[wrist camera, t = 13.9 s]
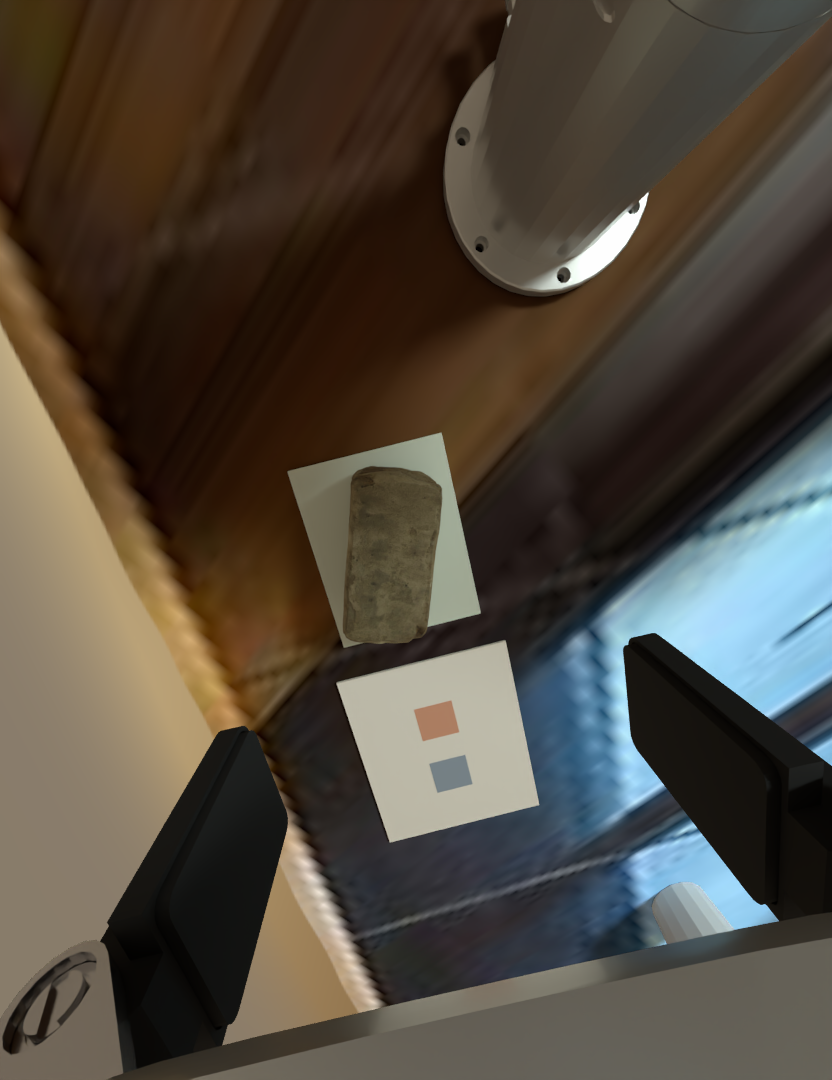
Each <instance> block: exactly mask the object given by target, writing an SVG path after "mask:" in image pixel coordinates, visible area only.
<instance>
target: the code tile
mask: <svg viewBox="0 0 832 1080" xmlns="http://www.w3.org/2000/svg"><path fill="white" fill-rule="evenodd" d="M337 686H338V689H339V692H340V695H341V698H342V701H343V704H344V707H345V710H346V713H347V716H348V719H349V722H350V725H351V728H352V731H353V734H354V737H355V740H356V743H357V746H358V749H359V752H360V755H361V758H362V761H363V764H364V767H365V770H366V773H367V776H368V779H369V782H370V785H371V788H372V791H373V794H374V797H375V800H376V803H377V806H378V809H379V812H380V814H381V817H382V820H383V823H384V826H385V829H386V832H387V835H388V838H389V841H390V842H394V841H398V840H402V839H406V838H409V837H413V836H417V835H421V834H425V833H429V832H433V831H437V830H441V829H445V828H449V827H453V826H457V825H461V824H465V823H469V822H473V821H477V820H481V819H485V818H489V817H493V816H497V815H501V814H505V813H509V812H513V811H517V810H521V809H525V808H529V807H533V806H537V805H539V802H538V797H537V792H536V787H535V782H534V777H533V772H532V767H531V763H530V758H529V753H528V748H527V743H526V738H525V733H524V728H523V723H522V719H521V714H520V709H519V704H518V699H517V694H516V689H515V684H514V680H513V675H512V670H511V665H510V660H509V655H508V650H507V645H506V641H505V640H503V641H499V642H495V643H491V644H487V645H483V646H479V647H475V648H471V649H467V650H463V651H459V652H455V653H451V654H447V655H443V656H439V657H435V658H431V659H427V660H423V661H419V662H415V663H411V664H407V665H403V666H399V667H395V668H391V669H387V670H383V671H379V672H375V673H371V674H367V675H364V676H360V677H356V678H352V679H348V680H344V681H340V682H337Z"/></svg>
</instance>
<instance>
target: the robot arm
mask: <svg viewBox="0 0 832 1080" xmlns="http://www.w3.org/2000/svg"><path fill="white" fill-rule="evenodd" d="M505 5H506V10H507V11H508V18H507V21H506V24H505V28H504V32H503V35H502V39H501V43H500V46H499V50H498V53H497V57H496V60H495V61H493V62H492V63H491V64H489V65H488V66H487V68H486V69H485V70H484V71H483V72H482V73H481V74H480V75H479V76H478V78H477V79H476V80H475V81H474V82H473V83H472V85H471V87H470V88H469V90H468V92H467V93H466V95H465V96H464V98H463V100H462V101H461V103H460V105H459V108H458V110H457V113H456V115H455V118H454V120H453V123H452V126H451V129H450V134H449V138H448V142H447V147H446V153H445V161H444V168H443V193H444V200H445V206H446V211H447V216H448V220H449V222H450V225H451V228H452V231H453V233H454V236H455V239H456V240H457V242H458V244H459V246H460V247H461V249H462V251H463V252H464V254H465V256H466V257H467V258H468V260H469V261H470V262H471V263H472V264H473V265H474V267H475V268H476V269H477V270H478V271H479V272H480V273H481V274H483V275H484V276H485V277H486V278H488V279H489V280H490V281H491V282H493V283H494V284H496V285H498V286H500V287H502V288H504V289H506V290H508V291H510V292H514V293H518V294H522V295H526V296H551V295H556V294H561V293H565V292H568V291H570V290H572V289H575V288H577V287H579V286H582V285H583V284H585V283H586V282H588V281H589V280H591V279H592V278H594V277H595V276H596V275H598V274H599V273H600V272H601V271H603V270H604V269H605V268H606V267H607V266H608V265H610V264H611V263H612V262H613V261H614V259H615V258H616V257H617V256H618V255H619V254H620V252H621V251H622V250H623V249H624V248H625V247H626V245H627V243H628V242H629V240H630V238H631V237H632V235H633V233H634V232H635V230H636V228H637V227H638V224H639V222H640V220H641V217H642V215H643V213H644V210H645V207H646V203H647V199H648V194H649V191H650V190H651V189H652V188H653V187H654V186H655V185H656V184H658V183H659V182H660V181H661V180H662V179H663V178H664V177H665V176H666V175H667V174H668V173H669V172H670V171H671V170H672V169H673V168H674V167H675V166H676V165H677V164H678V163H679V162H680V161H681V160H683V159H684V158H685V157H686V156H687V155H688V154H689V153H690V152H691V151H692V150H693V149H694V148H695V147H696V146H697V145H698V144H699V143H700V142H701V141H702V140H703V139H704V138H705V137H706V136H707V135H709V134H710V133H711V132H712V131H713V130H714V129H715V128H716V127H717V126H718V125H719V124H720V123H721V122H722V121H723V120H724V119H725V118H726V117H727V116H728V115H729V114H730V113H731V112H732V111H734V110H735V109H736V108H737V107H738V106H739V105H740V104H741V103H742V102H743V101H744V100H745V99H746V98H747V97H748V96H749V95H750V94H751V93H752V92H753V91H754V90H755V89H756V88H757V87H758V86H760V85H761V84H762V83H763V82H764V81H765V80H766V79H767V78H768V77H769V76H770V75H771V74H772V73H773V72H774V71H775V70H776V69H777V68H778V67H779V66H780V65H781V64H782V63H783V62H785V61H786V60H787V59H788V58H789V57H790V56H791V55H792V54H793V53H794V52H795V51H796V50H797V49H798V48H799V47H800V46H801V45H802V44H803V43H804V42H805V41H806V40H807V39H808V38H809V37H811V36H812V35H813V34H814V33H815V32H816V31H817V30H818V29H819V28H820V27H821V26H822V25H823V24H824V23H825V22H826V21H827V20H828V19H829V18H830V17H831V16H832V0H505ZM459 143H461V144H463V146H460V145H459ZM476 247H480V248H481V249H482V252H478V251H477V250H476V249H475V248H476ZM557 277H560V278H561V282H560V281H558V279H557ZM623 654H624V665H625V676H626V687H627V698H628V710H629V721H630V732H631V737H632V740H633V743H634V745H635V747H636V749H637V750H638V752H639V753H640V754H641V756H642V757H643V758H644V759H645V761H646V762H647V763H648V765H649V766H650V767H651V768H652V770H653V771H654V772H655V774H656V775H657V776H658V778H659V779H660V780H661V781H662V783H663V784H664V785H665V787H666V788H667V789H668V790H669V792H670V793H671V794H672V796H673V797H674V798H675V800H676V801H677V802H678V803H679V805H680V806H681V807H682V809H683V810H684V811H685V812H686V814H687V815H688V816H689V818H690V819H691V820H692V822H693V823H694V824H695V825H696V827H697V828H698V829H699V831H700V832H701V833H702V834H703V836H704V837H705V838H706V840H707V841H708V842H709V844H710V845H711V846H712V847H713V849H714V850H715V851H716V853H717V854H718V855H719V856H720V858H721V859H722V860H723V862H724V863H725V864H726V866H727V867H728V868H729V869H730V871H731V872H732V873H733V875H734V876H735V877H736V878H737V880H738V881H739V882H740V884H741V885H742V886H743V888H744V889H745V890H746V891H747V893H748V894H749V895H750V896H751V897H752V899H753V900H754V901H756V902H757V903H758V904H760V905H763V904H766V905H767V906H768V907H769V909H770V910H771V911H772V912H773V914H774V915H775V916H776V918H777V919H778V920H779V921H778V922H773V923H768V924H763V925H758V926H753V927H747V928H742V929H737V930H732V931H727V932H722V933H717V934H712V935H707V936H703V937H698V938H694V939H689V940H684V941H680V942H675V943H671V944H666V945H661V946H657V947H652V948H648V949H643V950H638V951H634V952H629V953H625V954H620V955H615V956H611V957H606V958H602V959H597V960H593V961H588V962H583V963H579V964H574V965H570V966H565V967H561V968H556V969H552V970H547V971H543V972H538V973H534V974H529V975H525V976H520V977H516V978H511V979H507V980H503V981H498V982H494V983H489V984H485V985H480V986H476V987H471V988H467V989H463V990H458V991H454V992H449V993H445V994H440V995H436V996H432V997H427V998H423V999H418V1000H414V1001H409V1002H405V1003H401V1004H396V1005H392V1006H388V1007H383V1008H379V1009H375V1010H370V1011H366V1012H362V1013H358V1014H354V1015H349V1016H344V1017H340V1018H336V1019H331V1020H327V1021H323V1022H319V1023H314V1024H310V1025H306V1026H302V1027H297V1028H293V1029H288V1030H284V1031H280V1032H275V1033H271V1034H267V1035H262V1036H258V1037H255V1038H250V1039H246V1040H242V1041H239V1042H235V1043H231V1044H227V1045H223V1046H222V1044H223V1040H224V1037H225V1033H226V1029H227V1026H228V1025H229V1024H232V1023H233V1022H234V1020H235V1018H236V1016H237V1014H238V1011H239V1007H240V1004H241V1000H242V997H243V993H244V989H245V985H246V981H247V978H248V974H249V970H250V966H251V963H252V959H253V955H254V951H255V948H256V944H257V940H258V937H259V933H260V929H261V925H262V921H263V918H264V914H265V910H266V906H267V903H268V899H269V895H270V892H271V888H272V884H273V880H274V876H275V873H276V868H277V865H278V862H279V858H280V854H281V850H282V847H283V843H284V839H285V835H286V832H287V826H288V817H287V812H286V809H285V807H284V804H283V802H282V799H281V796H280V794H279V791H278V789H277V786H276V784H275V781H274V779H273V776H272V774H271V771H270V768H269V766H268V763H267V761H266V758H265V756H264V753H263V751H262V748H261V746H260V743H259V740H258V738H257V735H256V733H255V732H254V731H252V730H251V731H249V730H248V728H246V727H245V726H240V727H236V728H232V729H227V730H223V731H220V732H219V733H218V734H217V735H216V737H215V739H214V740H213V742H212V744H211V746H210V747H209V749H208V751H207V752H206V754H205V756H204V758H203V759H202V761H201V763H200V764H199V766H198V768H197V769H196V771H195V773H194V775H193V776H192V778H191V780H190V782H189V783H188V785H187V787H186V788H185V790H184V792H183V793H182V795H181V797H180V799H179V800H178V802H177V804H176V805H175V807H174V809H173V810H172V812H171V814H170V816H169V818H168V819H167V821H166V822H165V824H164V826H163V828H162V829H161V831H160V833H159V834H158V836H157V838H156V840H155V841H154V843H153V845H152V846H151V848H150V850H149V852H148V853H147V855H146V857H145V858H144V860H143V862H142V864H141V865H140V867H139V869H138V871H137V872H136V874H135V876H134V877H133V879H132V881H131V883H130V884H129V886H128V887H127V889H126V891H125V893H124V894H123V896H122V898H121V899H120V901H119V903H118V905H117V906H116V908H115V910H114V912H113V913H112V915H111V917H110V919H109V920H108V922H107V923H108V925H109V927H108V929H107V930H106V932H105V934H104V936H103V937H102V939H101V941H100V942H99V941H97V940H93V941H85V942H82V943H80V944H77V945H75V946H73V947H70V948H68V949H67V950H66V951H64V952H63V953H61V954H60V955H58V956H57V957H55V958H54V959H52V960H51V961H50V962H49V963H48V964H46V965H45V966H44V967H43V968H42V969H41V970H40V971H39V972H38V973H36V974H35V975H34V976H33V978H31V979H30V981H29V982H28V983H27V984H26V985H25V986H24V987H23V988H22V989H21V991H19V993H18V994H17V995H16V997H15V998H14V999H13V1001H12V1002H11V1004H10V1005H9V1006H8V1008H7V1009H6V1010H5V1012H4V1013H3V1015H2V1017H1V1019H0V1080H832V766H831V765H830V764H828V763H827V762H826V761H824V760H823V759H822V758H820V757H819V756H818V755H816V754H815V753H814V752H812V751H811V750H810V749H809V748H807V747H806V746H805V745H803V744H802V743H801V742H799V741H798V740H797V739H795V738H794V737H793V736H791V735H790V734H789V733H787V732H786V731H785V730H783V729H782V728H781V727H779V726H778V725H777V724H776V723H774V722H773V721H772V720H770V719H769V718H768V717H766V716H765V715H764V714H762V713H761V712H760V711H758V710H757V709H756V708H754V707H753V706H752V705H750V704H749V703H748V702H746V701H745V700H744V699H742V698H741V697H740V696H739V695H737V694H736V693H735V692H733V691H732V690H731V689H729V688H728V687H727V686H725V685H724V684H722V683H721V682H720V681H719V680H717V679H716V678H715V677H713V676H712V675H711V674H709V673H708V672H707V671H705V670H704V669H703V668H701V667H700V666H699V665H697V664H696V663H695V662H693V661H692V660H691V659H689V658H688V657H687V656H686V655H684V654H683V653H682V652H680V651H679V650H678V649H676V648H675V647H674V646H672V645H671V644H670V643H668V642H667V641H666V640H664V639H663V638H662V637H660V636H659V635H657V634H656V633H651V634H647V635H642V636H638V637H633V638H631V639H630V640H629V645H626V646H624V648H623Z"/></svg>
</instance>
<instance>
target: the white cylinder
mask: <svg viewBox="0 0 832 1080" xmlns="http://www.w3.org/2000/svg"><path fill="white" fill-rule="evenodd" d="M652 911H653V915H654V917H655V919H656V921H657V923H658V925H659V928H660V930H661V932H662V934H663V936H664V938H665V940H666V943H667V944H671V943H675V942H680V941H684V940H689V939H694V938H698V937H703V936H707V935H712V934H717V933H722V932H727V931H732V930H734V929H733V927H732V926H731V925H730V924H729V922H728V921H727V920H726V919H725V917H724V916H723V915H722V913H721V912H720V911H719V910H718V908H717V907H716V906H715V905H714V903H713V902H712V901H711V900H710V898H709V897H708V896H707V895H706V893H705V892H704V891H703V890H702V888H701V887H700V886H699V885H696V884H694V883H691V882H679V883H676V884H672V885H670V886H668V887H666V888H665V889H663V890H661V891H660V892H659V894H658V895H657V896H656V897H655V898H654V901H653V904H652Z"/></svg>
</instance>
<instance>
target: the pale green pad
mask: <svg viewBox="0 0 832 1080" xmlns="http://www.w3.org/2000/svg"><path fill="white" fill-rule="evenodd" d="M369 466H377V467H398V468H404V469H408V470H411V471H421V472H423V473H425V474H426V475H428V476H430V477H431V478H432V479H433V480H434V481H436V483H437V484H439V485H440V486H441V488H442V498H443V499H442V508H441V521H440V530H439V536H438V542H437V547H436V553H435V563H434V572H433V583H432V593H431V602H430V611H429V619H428V626H427V627H429V626H433V625H437V624H441V623H445V622H449V621H453V620H457V619H460V618H464V617H468V616H472V615H476V614H480V613H481V612H480V607H479V603H478V598H477V594H476V589H475V585H474V580H473V575H472V571H471V566H470V562H469V557H468V552H467V548H466V543H465V539H464V534H463V530H462V525H461V520H460V516H459V511H458V507H457V502H456V497H455V493H454V488H453V484H452V479H451V475H450V470H449V465H448V461H447V456H446V452H445V447H444V442H443V438H442V433H438V434H434V435H430V436H426V437H422V438H418V439H414V440H410V441H406V442H402V443H398V444H394V445H390V446H386V447H382V448H378V449H374V450H370V451H366V452H362V453H358V454H354V455H350V456H346V457H342V458H338V459H334V460H330V461H326V462H322V463H318V464H314V465H310V466H306V467H302V468H298V469H294V470H290V471H287V472H288V475H289V479H290V482H291V485H292V488H293V491H294V494H295V497H296V500H297V503H298V506H299V510H300V513H301V516H302V519H303V522H304V525H305V528H306V531H307V534H308V538H309V541H310V544H311V547H312V550H313V553H314V556H315V559H316V562H317V566H318V569H319V572H320V575H321V578H322V581H323V584H324V587H325V590H326V594H327V597H328V600H329V603H330V606H331V609H332V612H333V615H334V618H335V622H336V625H337V628H338V631H339V634H340V637H341V640H342V643H343V646H344V648H345V647H349V646H353V645H357V644H361V643H360V642H354V641H351V640H349V639H348V638H346V636H345V634H344V633H343V610H344V585H345V570H346V558H347V547H348V529H349V515H350V495H351V481H352V476H353V474H354V473H355V472H357V471H358V470H360V469H363V468H365V467H369Z"/></svg>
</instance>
